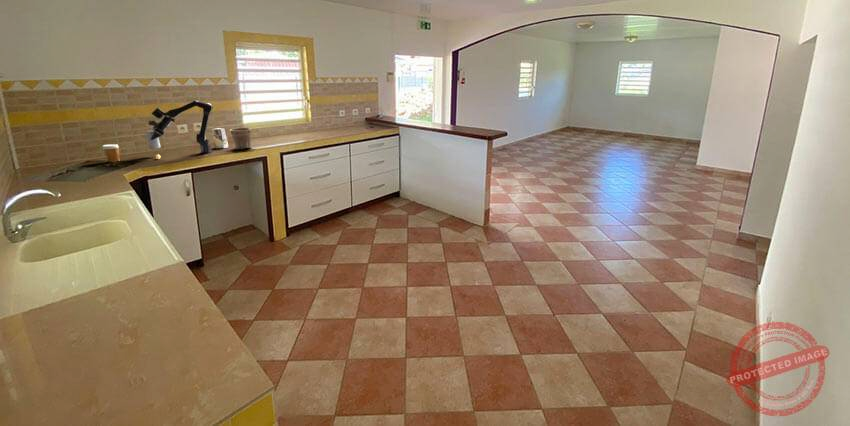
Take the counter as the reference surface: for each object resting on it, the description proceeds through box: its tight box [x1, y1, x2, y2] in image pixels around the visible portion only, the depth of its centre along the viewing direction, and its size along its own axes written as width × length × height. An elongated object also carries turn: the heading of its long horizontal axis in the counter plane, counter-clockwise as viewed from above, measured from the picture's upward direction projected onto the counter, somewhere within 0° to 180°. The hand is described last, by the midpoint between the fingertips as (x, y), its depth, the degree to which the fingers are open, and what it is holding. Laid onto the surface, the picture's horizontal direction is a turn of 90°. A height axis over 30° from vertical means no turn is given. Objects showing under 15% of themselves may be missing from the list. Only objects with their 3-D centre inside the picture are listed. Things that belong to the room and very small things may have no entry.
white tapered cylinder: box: [145, 130, 161, 149], centre depth 306 cm, size 7×7×12 cm
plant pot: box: [229, 127, 252, 150], centre depth 340 cm, size 16×16×16 cm
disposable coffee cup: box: [102, 143, 121, 163], centre depth 290 cm, size 10×10×12 cm
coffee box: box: [211, 127, 229, 149], centre depth 343 cm, size 9×6×16 cm
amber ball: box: [154, 154, 161, 160], centre depth 300 cm, size 3×3×3 cm
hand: (150, 139), depth 305 cm, fingers closed on white tapered cylinder, 7 cm apart
